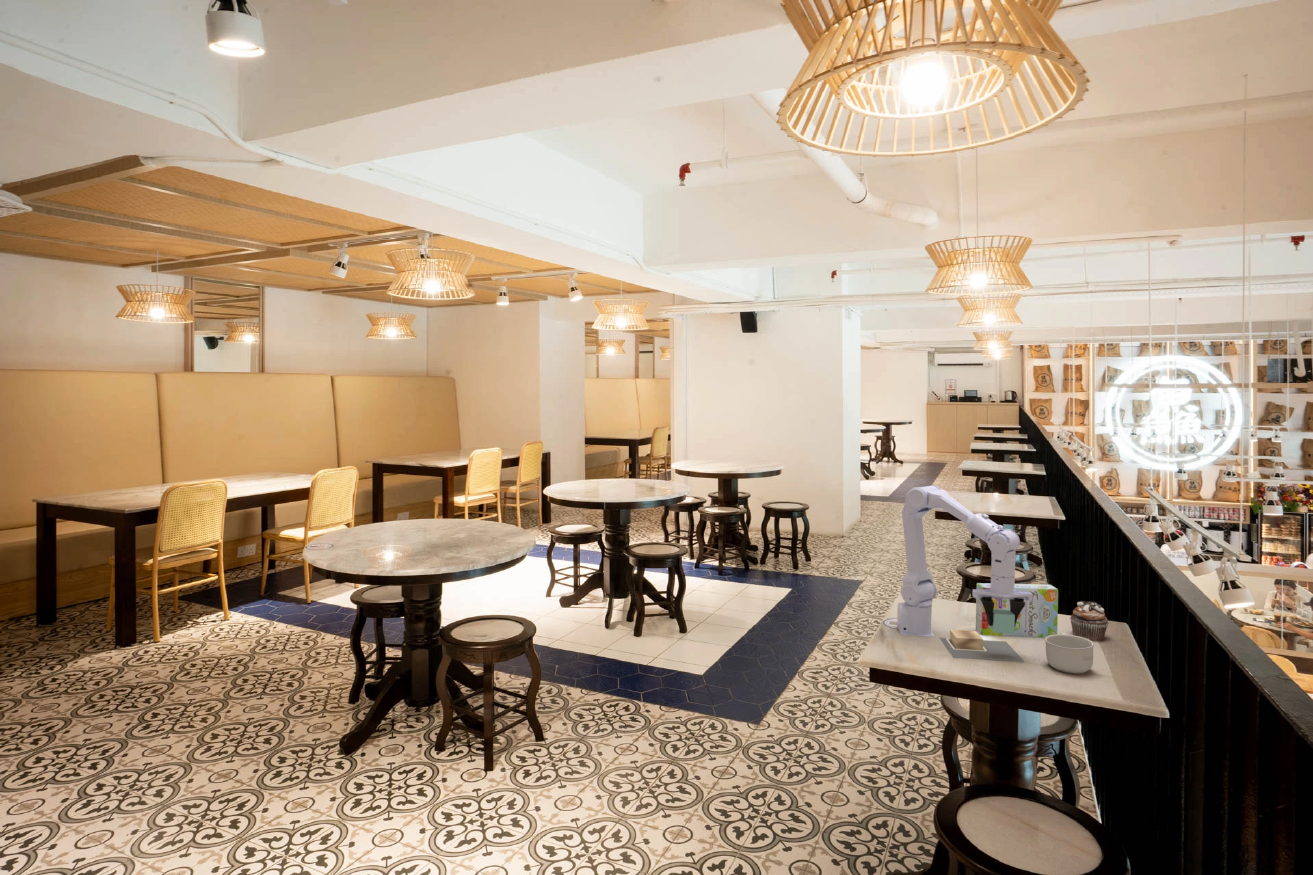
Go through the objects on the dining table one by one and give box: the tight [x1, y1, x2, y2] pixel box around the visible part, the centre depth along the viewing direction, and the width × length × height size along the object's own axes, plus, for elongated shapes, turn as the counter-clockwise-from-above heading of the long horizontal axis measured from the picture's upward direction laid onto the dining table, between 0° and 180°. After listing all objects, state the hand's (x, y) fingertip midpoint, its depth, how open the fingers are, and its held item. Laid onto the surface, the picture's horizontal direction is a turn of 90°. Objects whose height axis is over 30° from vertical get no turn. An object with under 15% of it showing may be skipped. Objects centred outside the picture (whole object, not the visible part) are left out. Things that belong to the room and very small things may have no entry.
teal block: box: [989, 609, 1015, 634], centre depth 189 cm, size 5×5×5 cm
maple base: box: [949, 629, 984, 650], centre depth 198 cm, size 7×7×3 cm
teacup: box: [1044, 632, 1095, 675], centre depth 182 cm, size 14×11×8 cm
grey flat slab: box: [939, 637, 1026, 663], centre depth 195 cm, size 18×16×1 cm
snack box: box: [975, 582, 1059, 638], centre depth 208 cm, size 21×6×15 cm, turn 84°
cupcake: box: [1069, 600, 1109, 642], centre depth 207 cm, size 10×10×10 cm
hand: (1001, 625), depth 190 cm, fingers closed on teal block, 5 cm apart
